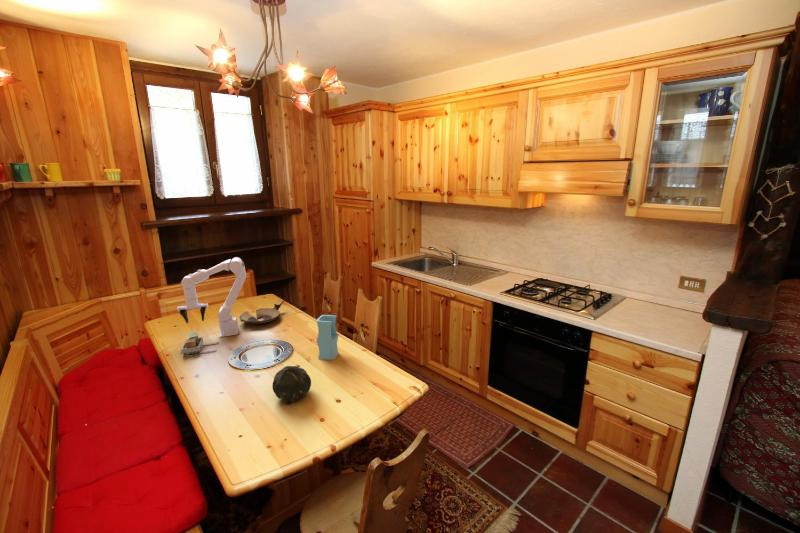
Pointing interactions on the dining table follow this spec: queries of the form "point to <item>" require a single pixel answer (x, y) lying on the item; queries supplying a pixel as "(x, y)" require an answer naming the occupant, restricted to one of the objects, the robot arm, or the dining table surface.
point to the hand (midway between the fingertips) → (195, 321)
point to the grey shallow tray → (192, 349)
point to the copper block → (191, 343)
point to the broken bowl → (262, 314)
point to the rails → (201, 352)
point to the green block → (194, 336)
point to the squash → (291, 383)
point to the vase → (327, 337)
